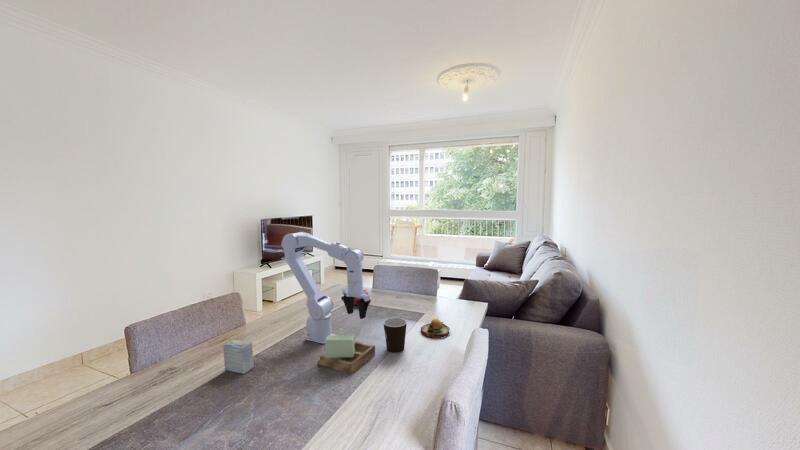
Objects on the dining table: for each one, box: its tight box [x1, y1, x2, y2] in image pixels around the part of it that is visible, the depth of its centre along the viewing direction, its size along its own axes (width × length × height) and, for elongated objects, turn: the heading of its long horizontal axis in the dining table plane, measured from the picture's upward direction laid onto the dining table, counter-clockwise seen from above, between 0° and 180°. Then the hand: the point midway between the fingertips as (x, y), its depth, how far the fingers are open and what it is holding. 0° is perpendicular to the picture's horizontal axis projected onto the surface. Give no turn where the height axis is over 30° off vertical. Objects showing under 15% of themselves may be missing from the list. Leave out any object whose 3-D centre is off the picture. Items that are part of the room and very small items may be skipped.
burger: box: [420, 317, 451, 339], centre depth 125 cm, size 12×12×8 cm
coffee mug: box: [383, 317, 408, 354], centre depth 113 cm, size 12×9×10 cm
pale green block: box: [324, 334, 355, 358], centre depth 101 cm, size 9×4×6 cm, turn 90°
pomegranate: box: [354, 289, 370, 306], centre depth 161 cm, size 10×10×9 cm
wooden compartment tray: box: [317, 340, 376, 375], centre depth 105 cm, size 14×14×3 cm
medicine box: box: [223, 339, 255, 375], centre depth 99 cm, size 8×4×9 cm, turn 71°
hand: (356, 315), depth 117 cm, fingers open, 7 cm apart
